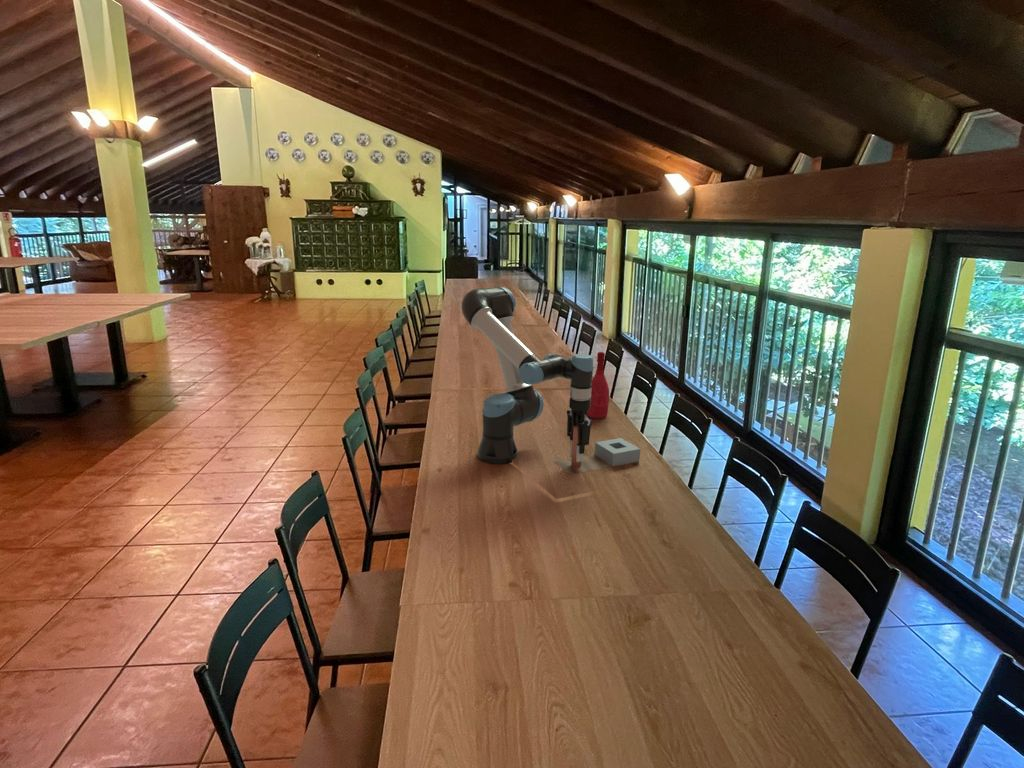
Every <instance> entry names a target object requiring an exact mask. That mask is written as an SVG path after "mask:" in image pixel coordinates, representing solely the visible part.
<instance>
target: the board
mask: <svg viewBox="0 0 1024 768" xmlns="http://www.w3.org/2000/svg"><path fill="white" fill-rule="evenodd" d="M571 461H572V458H567V459H562V460H556V461H554V464H556V465H557V466H558V467H560V468H561V469H562V470H564V471H565V472H567V473H568V474H569V475H576V474H582V473H585V472H591V471H596V470H602V469H607V468H612V467H614V466H611V465H610V464H608V463H607V462H605V461H604V460H602V459H601V458H599V457H598V456H596V455H594V454H590V455H584V459H583V461H581V467H573V466H571ZM630 464H631V465H632V466H635V465H639V464H640V460H639V461H638V462H633V463H630ZM618 466H619V465H617V466H616V467H618Z"/></svg>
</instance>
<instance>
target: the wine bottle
mask: <svg viewBox="0 0 1024 768" xmlns="http://www.w3.org/2000/svg"><path fill="white" fill-rule="evenodd" d="M596 355H597V357H596V358H597V359H596V362H597V365H596V371H595V373H594V376H593V377H592V388H591V398H590V399H591V406H590V409H589V410H588V411H587V414H588V418H589V417H590V418H591V419H604V418H606V417H607V416H608V412H609V402H610V389H609V388H610V387H609V384H608V381H607V379H606V376H605V372H604V370H605V369H604V363H605V356H606V354H605V352H604V351H599V352H597V354H596Z"/></svg>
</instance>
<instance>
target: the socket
mask: <svg viewBox="0 0 1024 768" xmlns="http://www.w3.org/2000/svg"><path fill="white" fill-rule="evenodd" d="M593 455H596V456H598V457H599V458H601V459H602V460H604V461H605V462H607V463H608V464H610V465H611V466H613V467H618V466H622V465H627V464H631V463H633V462H638V461H639V462H640V456H641V448H639V447H638V446H636V445H634V444H633V443H630V442H629V441H627V440H626V439H624V438H622V437H620V438H613V439H606V440H603V441H596V442H595V443H594V454H593ZM617 465H618V466H617Z"/></svg>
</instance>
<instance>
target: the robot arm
mask: <svg viewBox="0 0 1024 768" xmlns="http://www.w3.org/2000/svg"><path fill="white" fill-rule="evenodd" d="M516 304H517V302H516V298H515V296H514V294H513V292H512V291H511V290H510V289H508V288H507V287H504V286H493V287H490V286H489V287H483V288H475V289H471V290H469V291H468V292H467V293H466V294H465V295H464V297H463V299H462V301H461V312H462V315H463V318H465V320H466V322H467V323H468V324H469V325H470V326H471V327H472V328H473V329H478V330H479V331H480V333H482V334H483V335H484V336H485V337H486V338H487V339H488V340H489V341H490V342H491V343H492V344H493V345H494V347H495V352H496V356H497V359H498V362H499V365H500V370H501V373H502V376H503V377H502V378H503V380H504V383H505V389H504V391H503V393H494V394H491V395H489V396H487V397H486V398H485V399H484V400H483V405H482V437H481V440H480V442H479V445H478V449H477V458H478V459H479V460H480V461H482V462H485V463H488V464H498V465H501V464H508V463H511V462H513V460H514V459H516V458H517V457H518V448H517V445H516V441H515V438H514V433H515V432H514V430H515V429H514V427H517V426H519V425H522V424H525V423H529V422H533V421H534V420H536V419H538V418H539V417H540V416H541V415H542V413H543V411H544V410H543V409H544V406H545V405H544V399H543V396H542V394H541V393H539V391H538V390H536V389H534V386H533V385H538V384H540V383H542V382H547V381H549V380H554V379H556V378H557V379H558V378H562V379H563V378H564V379H567V380H570V385H569V386H570V387H569V397H570V398H569V403H568V405H569V406H568V407H569V409H568V410H566V414H567V421H566V422H567V423H566V425H567V426H566V427H567V428H566V436H567V437H569V440H570V443H569V444H570V445H569V446H570V447H569V448H570V449H569V458H570V459H572V444H573V428H574V426H577V427H578V443H579V444H577V453H576V462H580V461H583V459H584V456H585V451H586V450H585V447H586V446H589V445H590V438H591V429H592V428H591V427H592V425H593V420H592V419H589V416H588V414H587V411H588V410H589V409H590V406H591V399H590V398H591V388H592V379H593V374H594V373H593V372H594V358H593V356H592V355H591V354H587V353H586V354H585V353H575V354H573V355H572V356H571V357H568V356H564V355H561V354H557V353H555V354H554V353H549V354H546V356H544V358H543V359H539V358H538V356H536V355H535V353H534V352H532V351H531V349H530V348H528V347H527V346H526V345H525V344H524V343H523V342H522V341H521V340H520V339H519V338H518V337H517V336H515V331H514V327H513V324H512V322H513V320H514V312H515V310H516V306H517V305H516Z"/></svg>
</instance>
